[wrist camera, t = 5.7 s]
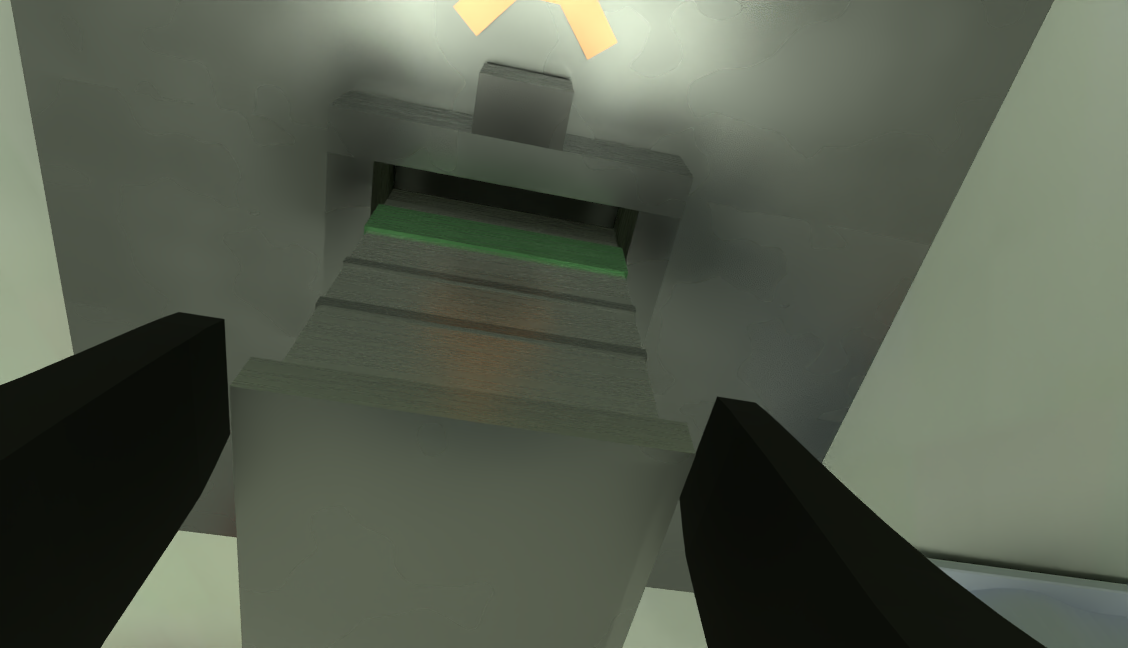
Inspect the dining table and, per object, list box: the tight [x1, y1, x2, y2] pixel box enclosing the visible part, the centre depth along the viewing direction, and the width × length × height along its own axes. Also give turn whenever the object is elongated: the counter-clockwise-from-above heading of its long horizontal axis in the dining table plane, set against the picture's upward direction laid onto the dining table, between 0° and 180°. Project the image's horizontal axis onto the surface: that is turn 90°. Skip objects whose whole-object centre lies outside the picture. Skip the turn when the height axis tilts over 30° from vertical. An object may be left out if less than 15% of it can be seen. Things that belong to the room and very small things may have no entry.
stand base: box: [11, 0, 1054, 592], centre depth 14 cm, size 18×18×2 cm
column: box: [230, 189, 696, 648], centre depth 10 cm, size 4×4×6 cm
